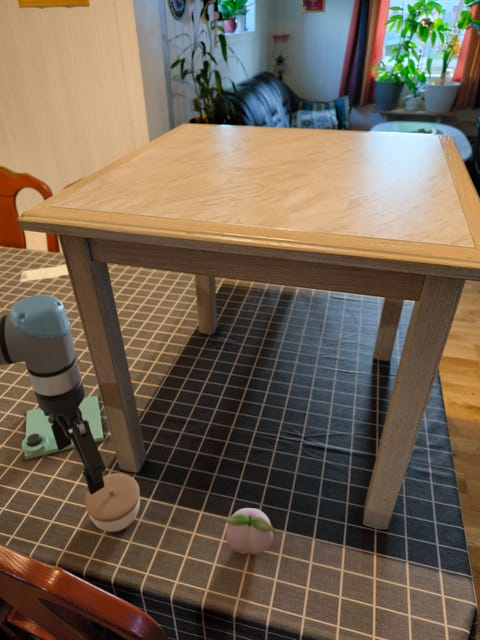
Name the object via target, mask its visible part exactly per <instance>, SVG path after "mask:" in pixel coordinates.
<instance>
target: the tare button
mask: <svg viewBox="0 0 480 640" xmlns="http://www.w3.org/2000/svg"><path fill="white" fill-rule="evenodd" d="M27 441H28V444H29V446H31V447H35V446H37V445H39V444H40V443H41V439H40V436H39V434H32V435H30V436H29V437H28V438H27Z"/></svg>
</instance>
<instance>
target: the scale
mask: <svg viewBox="0 0 480 640" xmlns="http://www.w3.org/2000/svg"><path fill="white" fill-rule="evenodd" d="M79 408H80V410H81V413H82V418H83V420H87V421H88V422H89V426H90V430H91V433H92V436H93V438H94V441H95V443H100V442H103V441H105V439H104V433H103V432H104V431H103V426H102V417H101V413H100V412H101V411H100V405H99V398H98V395H93V396H88V397H84V399H83V401H82V403H81V404H80V405H79ZM48 418H49V415H48V416H45V415H44V411H42V410H41V409H40V407H38V408H34V409H29V410H26V418H25V419H26V421H25V437H24V439H23V440H22V442H21V449H22V451H23V453H24V459H25V460H30V459H35V458H39V457H43V456H46V455H47V456H48V455H51V454H54V453H58V452H63V451H66V450H71V449H74V448H75V446H74V444H73V442H72V440H71V442H72V444H71V445H69V446H67V447H65V448H63V449H62V450H60V451H59V450H58V448H57V445H56V441H55V438H54V435H53V431H52V428H51V425H53V424H50V423H49V421H48ZM69 432H70V433H71V432H72V429H71V430H69ZM32 434H39V436H40V439H41V443H40V444H39V445H37V446H35V447H31V446H29V444H28V441H27V438H28V437H29V436H30V435H32ZM75 449H76V448H75Z"/></svg>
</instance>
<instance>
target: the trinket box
mask: <svg viewBox="0 0 480 640" xmlns="http://www.w3.org/2000/svg"><path fill="white" fill-rule="evenodd" d="M102 477H103V481H104V485H105V487H103V488H102V489H100V490H98V491H97V492H95V493H94V494H92V495H91V494H90V493H89V489H88V490H87V492H86V494H85V497H84V506H85V509H86V512H87V514H88V517H89V519H90V521H91V522H92V524H93V525H94V526H95V527H96V528H98V529H100V530H101V531H103V532H108V533H115V532H120V531H123V530H124V529H126V528H127V527H129V526H130V525H131V524H132V523H134V521H135V519H136V518H137V516H138V513H139V511H140V506H141V494H140V493H141V492H140V491H141V490H140V486H139V483H138V482H137V480H136V479H135V478H134V477H132V476H130V474H129V475H128V474H126V473H122V472H115V473H114V472H113V473H110V474H106V475H103V476H102Z"/></svg>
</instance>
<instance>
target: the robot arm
mask: <svg viewBox="0 0 480 640" xmlns="http://www.w3.org/2000/svg"><path fill="white" fill-rule="evenodd" d="M72 335H73V334H72V331H71V322H70V321H69V319H68V315H67V313H66V309H65V305H64V303H63V302H62V301H61V300H60V299H59V298H57V297H56V296H54V295H50V294H34V295H31V296H30V297H22V298H21V299H18V300H17V301H16V302H15V303H14V304H12V306H11V308H10V311H9V314H2V315H0V366H5V365H15V364H17V363H24V364H25V366H26V370H27V374H28V377H29V380H30V384H31V386H32V389H33V391H34V395H35V398H36V402H37V405H38V408H40V409H41V410H42V411H44V415H45V416H48V415H49V418H48V421H49V423H50V424H53V425H51V428H52V431H53V435H54V438H55V441H56V445H57V448H58V450H59V452H61V451H60V450H62V449H63V448H65V447H67V446H69V445H71V444H72V442H73V444H74V446H75V450H76V451H75V452H76V453H77V455H78V457H79V459H80V461H81V463H82V465H83V469H82V470H83V471H82V472H81V474H82V476H83V477H84V478H85V482H86V485H87V489H88V490H89V493H90V494H91V495H92V494H94V493H95V492H97V491H98V490H100V489H102V488H103V487H105V485H104V481H103V477H104V476H103V472H105V471H106V470H107V467H106V465H105V463H104V460H103V458H102V455H101V453H100V450H99V448H98V445H97V442H95V441H94V438H93V436H92V433H91V430H90V426H89V422H88V421H87V420H83V418H82V413H81V410H80V408H79V405H80V404H81V403H82V401H83V399H84V398H85V393H86V391H85V388H84V384H83V378H82V377H81V372H80V368H79V364H78V363H80V362H81V358H80V357H79V356H77V354H76V350H75V349H76V348H75V345H74V340H73V336H72ZM71 429H72V432H71V433H70V432H69V430H71ZM71 440H72V442H71Z"/></svg>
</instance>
